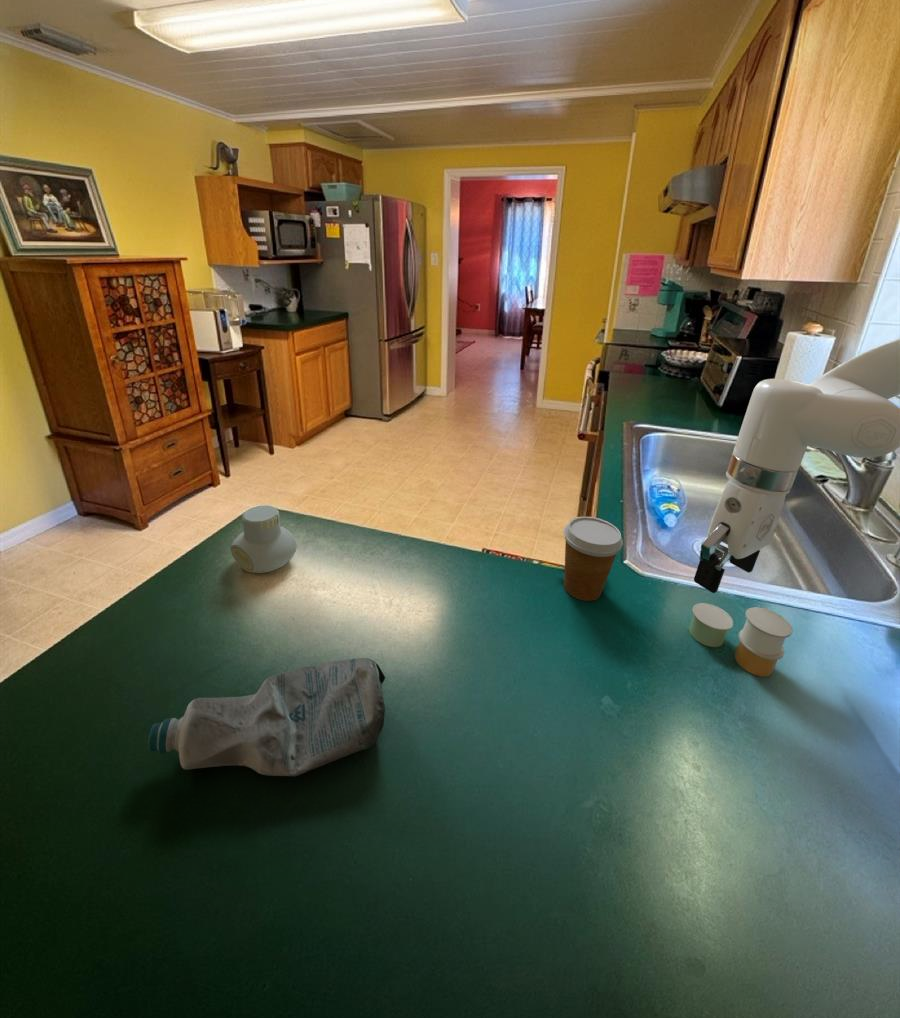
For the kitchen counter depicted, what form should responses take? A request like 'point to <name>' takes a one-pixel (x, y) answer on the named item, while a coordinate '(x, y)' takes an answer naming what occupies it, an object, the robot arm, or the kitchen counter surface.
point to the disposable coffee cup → (589, 556)
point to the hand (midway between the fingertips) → (723, 576)
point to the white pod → (765, 631)
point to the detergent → (282, 721)
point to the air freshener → (263, 541)
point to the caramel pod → (755, 659)
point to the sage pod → (710, 624)
